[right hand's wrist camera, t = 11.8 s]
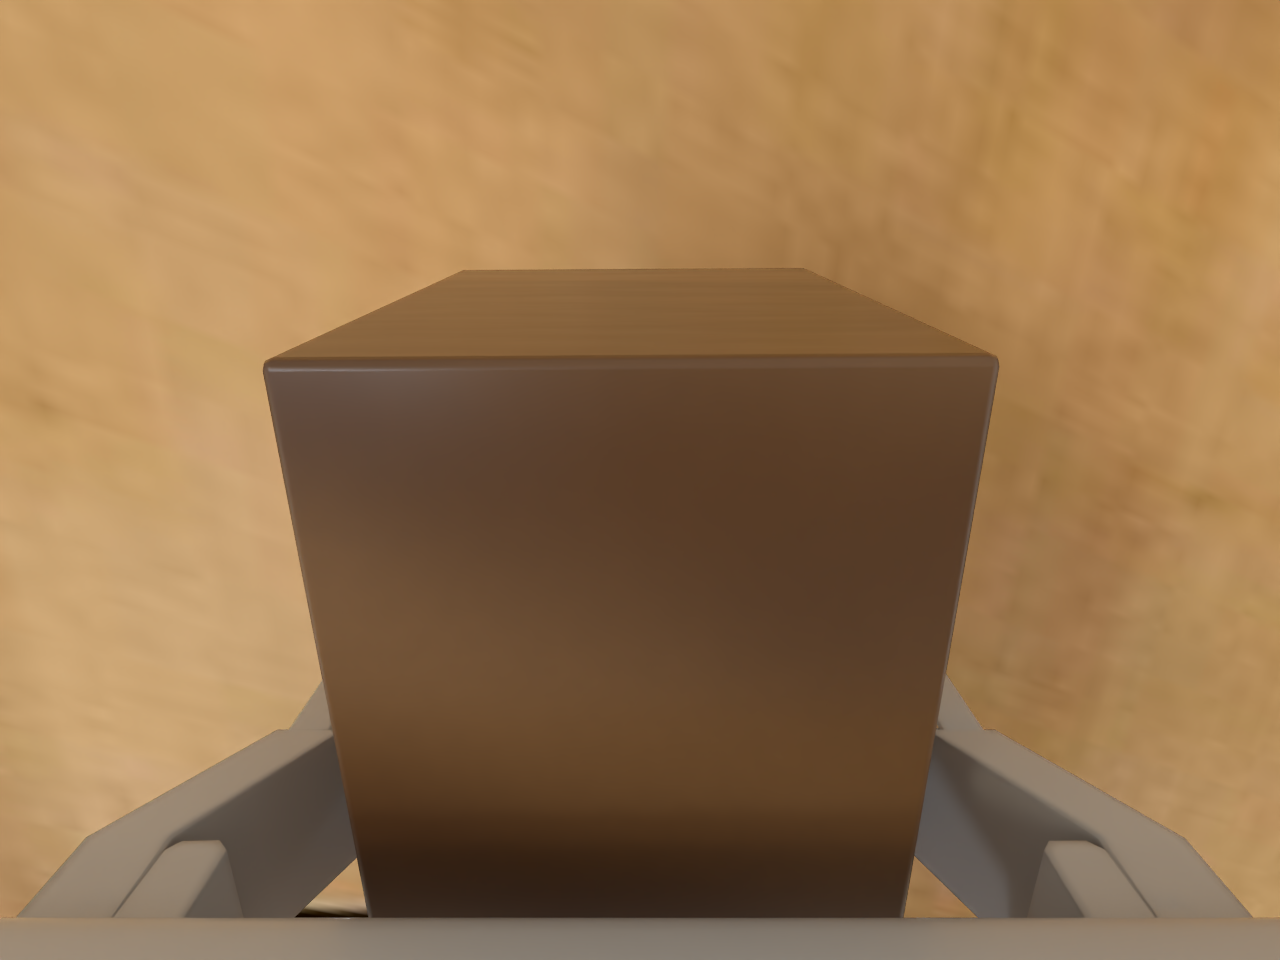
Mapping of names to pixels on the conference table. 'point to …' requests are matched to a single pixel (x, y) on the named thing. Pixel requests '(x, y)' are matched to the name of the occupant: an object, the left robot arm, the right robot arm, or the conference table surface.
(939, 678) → the beam
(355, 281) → the conference table surface
